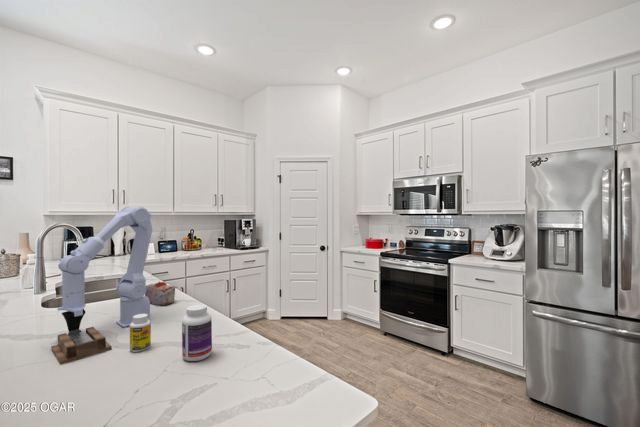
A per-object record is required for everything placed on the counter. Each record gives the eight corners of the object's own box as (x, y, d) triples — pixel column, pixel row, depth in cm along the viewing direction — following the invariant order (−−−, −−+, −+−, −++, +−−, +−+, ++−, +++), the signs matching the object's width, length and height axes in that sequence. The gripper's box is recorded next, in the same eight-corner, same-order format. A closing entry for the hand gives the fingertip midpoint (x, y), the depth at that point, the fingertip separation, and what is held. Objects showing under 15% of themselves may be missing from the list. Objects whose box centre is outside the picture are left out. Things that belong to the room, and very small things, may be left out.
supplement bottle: (129, 354, 89) (129, 320, 89) (129, 347, 93) (129, 314, 93) (151, 349, 92) (151, 316, 92) (150, 343, 96) (149, 311, 96)
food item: (178, 302, 140) (178, 281, 140) (163, 307, 133) (163, 285, 133) (156, 299, 145) (156, 279, 145) (141, 304, 138) (141, 282, 138)
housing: (51, 349, 92) (51, 336, 92) (98, 337, 101) (98, 325, 101) (60, 364, 83) (60, 350, 83) (111, 349, 92) (111, 336, 92)
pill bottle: (217, 352, 90) (217, 304, 90) (198, 365, 83) (198, 313, 83) (195, 348, 93) (195, 301, 93) (175, 360, 85) (175, 309, 85)
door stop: (66, 341, 96) (66, 330, 96) (82, 337, 99) (82, 327, 99) (77, 356, 87) (77, 343, 87) (94, 351, 90) (94, 339, 90)
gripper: (53, 290, 100) (53, 330, 100) (62, 298, 91) (62, 343, 91) (80, 286, 106) (80, 324, 106) (90, 293, 96) (91, 336, 96)
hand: (73, 333), depth 99 cm, fingers closed
